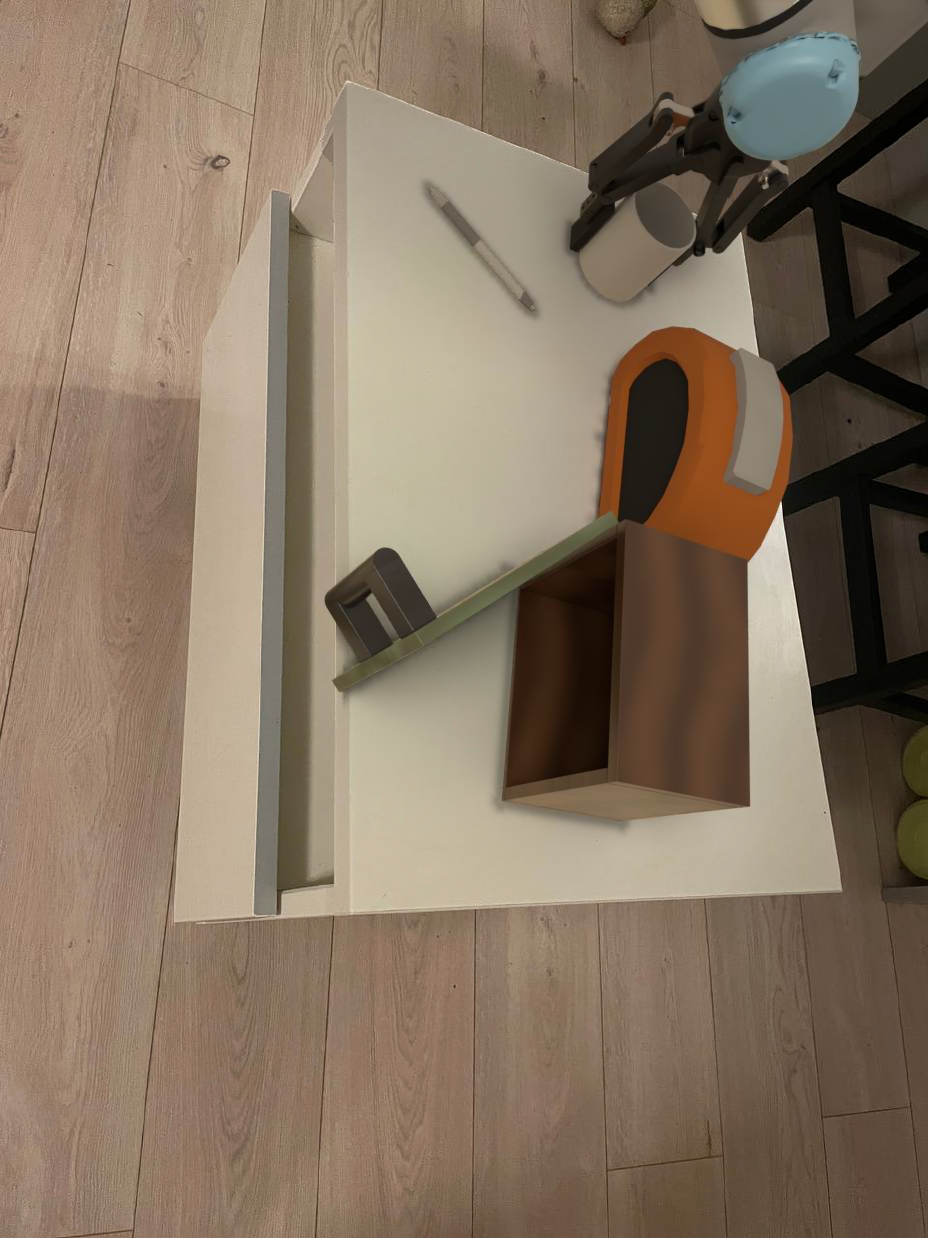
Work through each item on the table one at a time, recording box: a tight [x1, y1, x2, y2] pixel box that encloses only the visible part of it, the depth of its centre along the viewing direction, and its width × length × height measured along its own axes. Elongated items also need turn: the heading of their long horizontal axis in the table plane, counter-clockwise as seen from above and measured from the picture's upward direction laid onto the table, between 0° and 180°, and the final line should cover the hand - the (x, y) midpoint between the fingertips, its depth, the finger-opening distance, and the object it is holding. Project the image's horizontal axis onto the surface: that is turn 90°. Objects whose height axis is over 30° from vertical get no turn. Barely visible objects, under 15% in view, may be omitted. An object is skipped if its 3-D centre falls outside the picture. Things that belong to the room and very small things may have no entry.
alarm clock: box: [598, 325, 794, 563], centre depth 77 cm, size 23×9×17 cm, turn 171°
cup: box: [578, 180, 696, 303], centre depth 87 cm, size 7×10×9 cm
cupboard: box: [501, 519, 751, 822], centre depth 69 cm, size 11×18×15 cm, turn 174°
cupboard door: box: [324, 511, 619, 693], centre depth 64 cm, size 6×18×15 cm, turn 126°
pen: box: [428, 186, 536, 312], centre depth 83 cm, size 1×14×1 cm, turn 49°
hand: (608, 258), depth 91 cm, fingers open, 8 cm apart
